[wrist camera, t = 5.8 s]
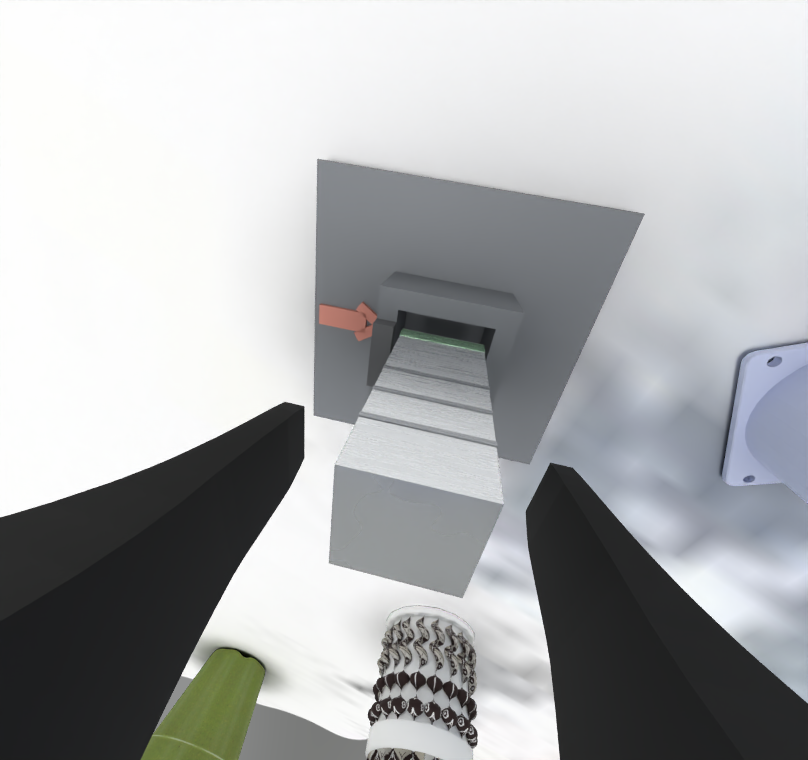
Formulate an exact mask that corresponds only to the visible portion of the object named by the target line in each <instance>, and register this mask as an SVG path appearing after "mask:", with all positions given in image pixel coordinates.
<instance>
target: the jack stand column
mask: <svg viewBox="0 0 808 760" xmlns="http://www.w3.org/2000/svg"><path fill="white" fill-rule="evenodd" d="M493 415H494V414H493V411H492V407H491V399H490V387H489V384H488V376H487V368H486V360H485V347H484V345H483V344H478V343H473V342H468V341H463V340H458V339H453V338H448V337H444V336H439V335H434V334H429V333H424V332H419V331H414V330H409V329H404V328H403V329H402V331H401V332H400V335H399V338H398V340H397V342H396V344H395V346H394V348H393V350H392V352H391V354H390V356H389V358H388V360H387V362H386V364H385V365H384V366H383V369H382V372H381V374H380V376H379V378H378V380H377V382H376V384H375V385H373V387H372V391H371V393H370V395H369V397H368V399H367V401H366V403H365V405H364V407H363V409H362V411H360V413H359V415H358V419H357V421H356V423H355V425H354V427H353V429H352V431H351V433H350V435H349V437H348V439H347V441H346V443H345V445H344V447H343V449H342V451H341V453H340V455H339V457H338V459H337V461H336V463H335V469H334V485H333V502H332V519H331V536H330V552H329V563H330V564H334V565H338V566H341V567H345V568H349V569H353V570H357V571H361V572H364V573H368V574H372V575H376V576H380V577H384V578H387V579H391V580H395V581H399V582H403V583H407V584H410V585H414V586H418V587H422V588H426V589H430V590H434V591H437V592H441V593H445V594H449V595H453V596H457V597H460V598H463V595H464V593H465V591H466V589H467V586H468V584H469V582H470V580H471V577H472V575H473V573H474V571H475V568H476V566H477V564H478V562H479V559H480V557H481V555H482V553H483V550H484V548H485V546H486V544H487V541H488V539H489V537H490V535H491V532H492V530H493V528H494V526H495V523H496V521H497V519H498V517H499V514H500V512H501V510H502V508H503V505H504V501H503V493H502V485H501V478H500V470H499V462H498V454H497V447H498V444H497V441H496V439H495V431H494V423H493Z"/></svg>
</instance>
